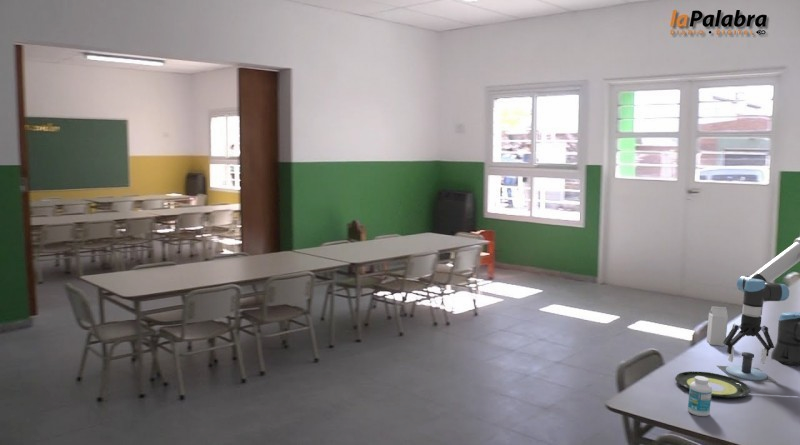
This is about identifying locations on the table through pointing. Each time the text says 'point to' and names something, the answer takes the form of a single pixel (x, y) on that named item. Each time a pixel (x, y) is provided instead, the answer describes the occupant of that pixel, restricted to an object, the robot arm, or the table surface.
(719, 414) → the table surface
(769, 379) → the mat
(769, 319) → the table surface
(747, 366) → the lid
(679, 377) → the plate
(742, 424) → the table surface
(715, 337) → the milk carton
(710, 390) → the pill bottle
